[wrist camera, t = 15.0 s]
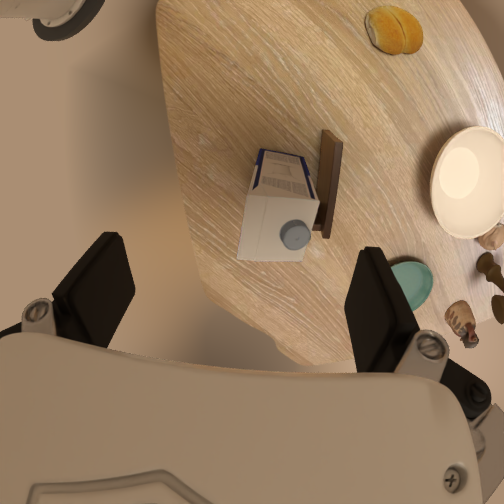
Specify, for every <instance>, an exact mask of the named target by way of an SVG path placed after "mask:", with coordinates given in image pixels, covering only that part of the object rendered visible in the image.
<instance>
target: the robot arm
mask: <svg viewBox="0 0 504 504" xmlns="http://www.w3.org/2000/svg"><path fill="white" fill-rule="evenodd" d="M85 1H86V0H0V18H25V20H26V21H28V20H29V19H31V18H35V19H40V21H41V23H42V24H43V25H45V26H47V27H57V26H60V25H63V24H64V23H66V22H68V21H69V20H70V19H71V18H72V17H74V16H75V14H76V13H77V12H78V11H79V10H80V8H81V7H82V6H83V4H84V2H85ZM52 295H53V298H54V301H53V302H51V301H50V300H49V299H47V298H40V299H36V300H34V301H32V302H31V303H30V304H28V305H27V307H26V308H25V309H24V311H23V313H22V322H20V323H18V324H16V325H14V326H12V327H9V328H7V329H5V330H3V331H1V332H0V504H485V503H486V502H487V500H488V499H489V498H490V496H491V495H492V494H493V493H494V491H495V490H496V488H497V487H498V486H499V484H500V483H501V481H502V480H503V479H504V412H503V411H502V410H501V409H500V408H499V406H497V404H496V403H495V404H494V405H492V404H491V392H490V389H489V387H488V386H487V384H486V383H485V382H484V381H483V380H481V379H480V378H478V377H477V376H475V375H474V374H472V373H470V372H469V371H468V370H466V369H465V368H463V367H462V366H460V365H458V364H457V363H455V362H454V361H452V360H451V359H449V358H448V356H449V346H448V344H447V342H446V340H445V339H444V338H443V337H442V336H441V335H440V334H438V333H437V332H434V331H432V330H420V328H419V326H418V323H417V321H416V319H415V316H414V314H413V312H412V309H411V307H410V305H409V303H408V301H407V298H406V296H405V294H404V292H403V290H402V288H401V286H400V284H399V283H398V281H397V279H396V277H395V275H394V273H393V271H392V269H391V267H390V265H389V263H388V261H387V259H386V257H385V255H384V253H383V251H382V250H381V248H380V247H368V246H366V247H365V248H364V250H360V252H359V255H358V259H357V263H356V266H355V270H354V274H353V277H352V281H351V284H350V287H349V291H348V294H347V297H346V301H345V305H344V310H345V315H346V319H347V324H348V328H349V333H350V338H351V343H352V348H353V353H354V358H355V363H356V368H357V373H302V372H301V373H300V372H275V371H258V370H246V369H234V368H224V367H214V366H205V365H198V364H190V363H182V362H176V361H170V360H163V359H158V358H152V357H146V356H140V355H136V354H131V353H125V352H121V351H116V350H112V349H107V347H108V345H109V343H110V341H111V339H112V337H113V335H114V333H115V331H116V329H117V327H118V325H119V323H120V321H121V319H122V317H123V316H124V314H125V312H126V310H127V308H128V306H129V304H130V302H131V300H132V299H133V297H134V295H135V285H134V281H133V277H132V274H131V270H130V266H129V262H128V258H127V255H126V250H125V246H124V243H123V239H122V237H121V236H119V234H118V233H117V232H104V233H102V234H101V236H100V237H99V238H98V239H97V240H96V241H95V242H94V243H93V244H92V246H91V247H90V248H89V249H88V250H87V251H86V252H85V254H84V255H83V256H82V257H81V258H80V259H79V261H78V262H77V263H76V264H75V265H74V266H73V268H72V269H71V270H70V271H69V273H68V274H67V275H66V276H65V277H64V279H63V280H62V281H61V282H60V284H59V285H58V286H57V288H56V289H55V290H54V291H53V293H52Z"/></svg>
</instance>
